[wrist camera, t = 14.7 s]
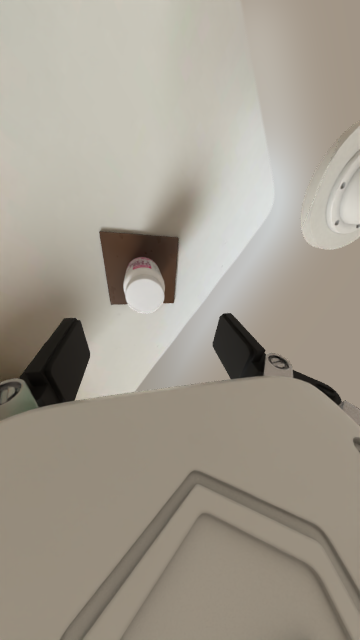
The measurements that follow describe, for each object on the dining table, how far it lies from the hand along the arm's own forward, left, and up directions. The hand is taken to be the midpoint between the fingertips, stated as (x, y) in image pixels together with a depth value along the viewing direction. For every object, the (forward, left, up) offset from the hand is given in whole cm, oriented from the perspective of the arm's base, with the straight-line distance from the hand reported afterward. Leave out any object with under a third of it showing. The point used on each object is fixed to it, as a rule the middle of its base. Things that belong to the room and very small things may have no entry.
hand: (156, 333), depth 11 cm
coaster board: (0, 0, -15) cm, 15 cm away
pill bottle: (0, 0, -15) cm, 15 cm away
